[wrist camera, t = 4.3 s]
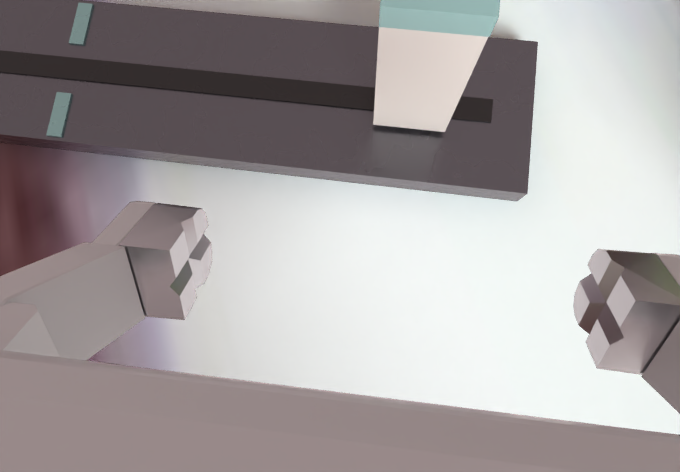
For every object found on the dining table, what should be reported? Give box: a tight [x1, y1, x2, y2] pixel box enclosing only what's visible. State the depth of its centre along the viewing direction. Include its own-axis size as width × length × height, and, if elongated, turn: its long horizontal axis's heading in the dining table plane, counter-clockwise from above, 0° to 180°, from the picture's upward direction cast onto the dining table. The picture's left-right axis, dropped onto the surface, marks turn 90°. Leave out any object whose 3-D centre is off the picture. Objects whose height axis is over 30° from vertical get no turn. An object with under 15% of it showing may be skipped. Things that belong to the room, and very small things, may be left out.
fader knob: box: [373, 0, 500, 132], centre depth 18 cm, size 3×4×9 cm
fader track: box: [0, 0, 538, 201], centre depth 25 cm, size 8×32×2 cm, turn 82°
